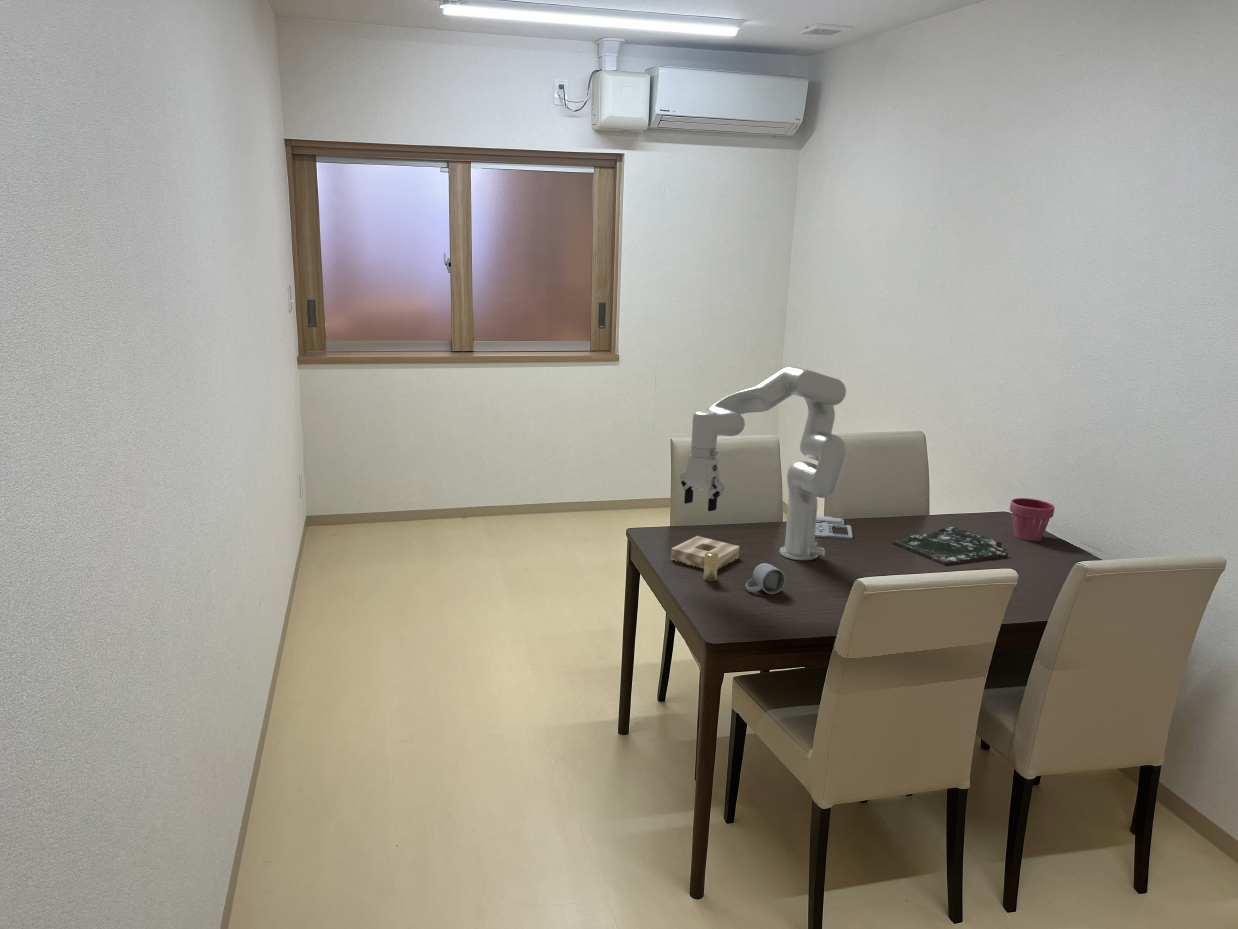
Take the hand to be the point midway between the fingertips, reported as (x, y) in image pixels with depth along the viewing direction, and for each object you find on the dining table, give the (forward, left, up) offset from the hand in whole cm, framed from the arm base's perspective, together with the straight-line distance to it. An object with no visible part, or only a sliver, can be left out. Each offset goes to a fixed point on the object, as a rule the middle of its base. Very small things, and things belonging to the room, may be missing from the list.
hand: (700, 506), depth 262 cm
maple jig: (+4, -12, -22) cm, 25 cm away
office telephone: (-13, -68, -22) cm, 73 cm away
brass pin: (-6, +2, -22) cm, 22 cm away
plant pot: (-75, -107, -22) cm, 132 cm away
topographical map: (-58, -76, -22) cm, 98 cm away
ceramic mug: (-23, -1, -22) cm, 32 cm away
